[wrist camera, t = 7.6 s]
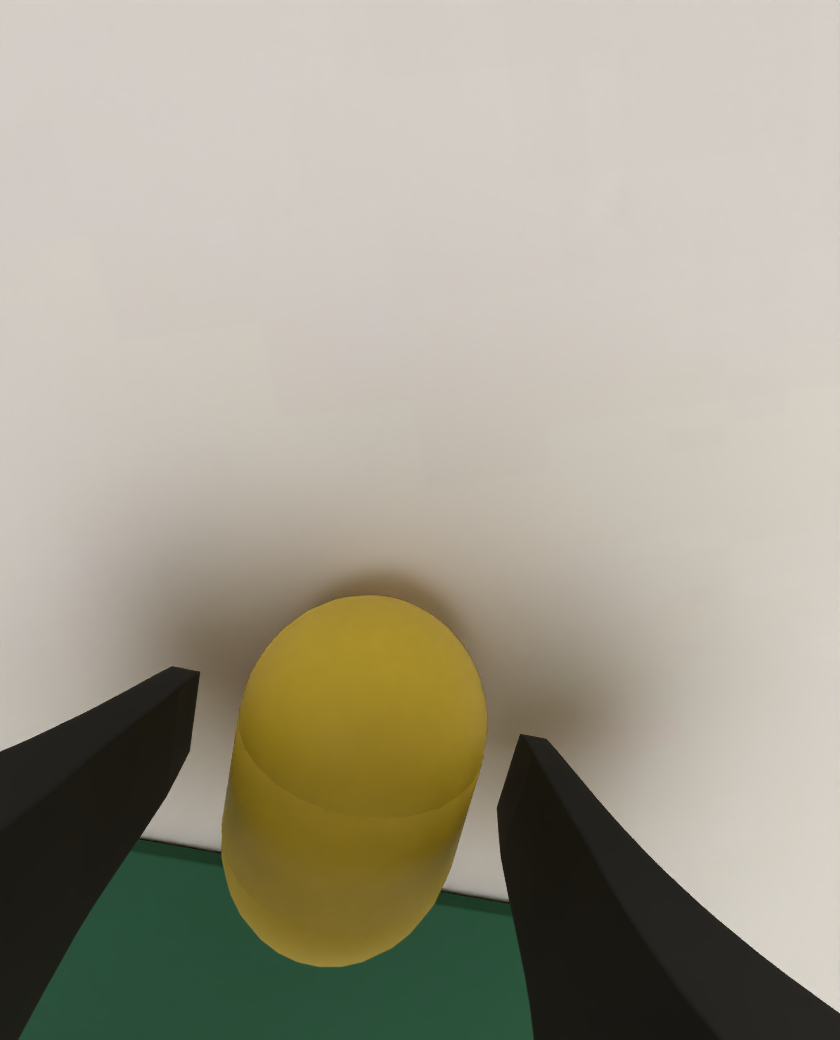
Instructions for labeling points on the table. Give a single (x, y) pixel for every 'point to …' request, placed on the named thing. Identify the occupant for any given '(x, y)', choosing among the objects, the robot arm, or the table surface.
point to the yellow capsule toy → (351, 778)
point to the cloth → (271, 970)
